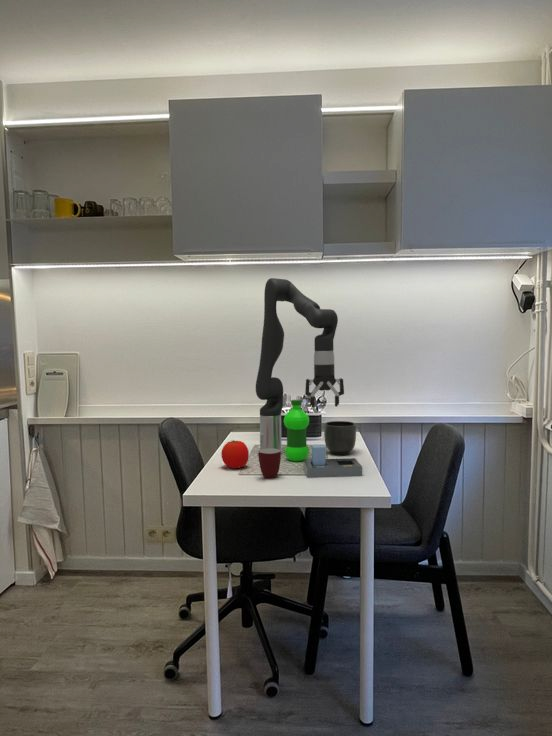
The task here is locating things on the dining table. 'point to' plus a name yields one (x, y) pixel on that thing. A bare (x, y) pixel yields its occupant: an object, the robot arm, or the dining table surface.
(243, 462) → the tomato
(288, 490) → the dining table surface
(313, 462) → the plug
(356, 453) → the dining table surface
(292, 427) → the plastic bottle
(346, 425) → the planter
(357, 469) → the panel
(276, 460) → the mug
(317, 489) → the dining table surface
